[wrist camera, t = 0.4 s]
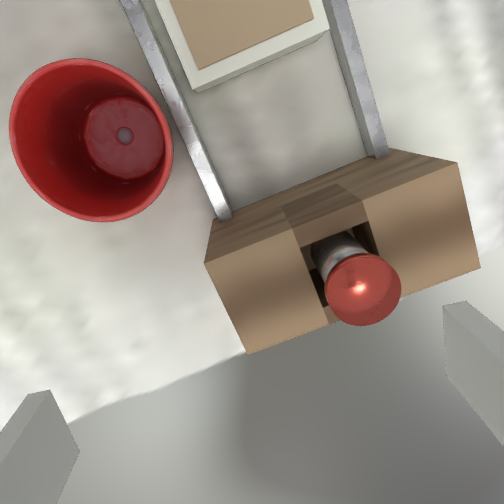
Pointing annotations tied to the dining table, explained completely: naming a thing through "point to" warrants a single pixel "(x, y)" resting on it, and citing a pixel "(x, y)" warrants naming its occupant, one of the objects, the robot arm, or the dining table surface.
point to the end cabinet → (331, 222)
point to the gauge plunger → (355, 280)
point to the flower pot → (90, 140)
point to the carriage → (237, 34)
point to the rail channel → (151, 47)
